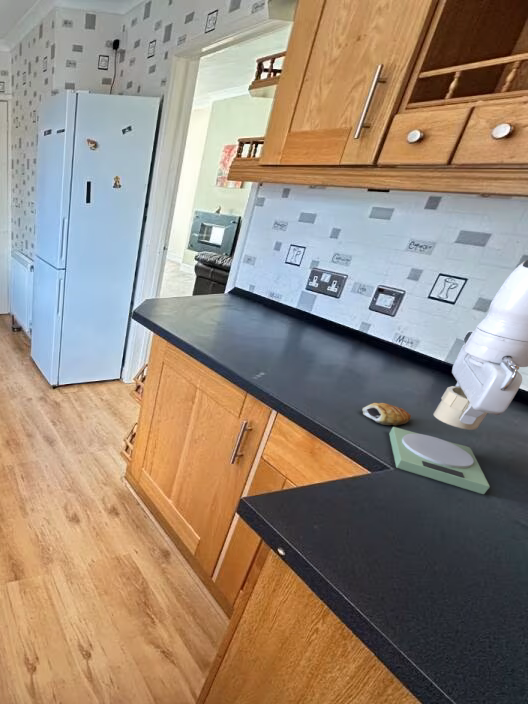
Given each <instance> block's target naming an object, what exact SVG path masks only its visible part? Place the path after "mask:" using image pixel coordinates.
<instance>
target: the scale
mask: <svg viewBox="0 0 528 704" xmlns="http://www.w3.org/2000/svg"><path fill="white" fill-rule="evenodd" d="M388 436H389V440H390V444H391V445H390V446H391V449H392V454H393V459H394V463H395V467H396V469H399V470H403V471H405V472H409V473H413V474H415V475H419V476H422V477H426V478H429V479H432V480H435V481H438V482H442V483H445V484H448V485H452V486H454V487H458V488H461V489H465V490H468V491H471V492H473V493H474V492H475V493H477V494H481V495H485V494H486V492H487V491H488V490H489V489H490V487H491V486H490V484H489V482H488V480H487V478H486V476H485V474H484V472H483V470H482V468H481V466H480V464H479V462H478V460H477V458H476V456H475V454H474V452H473V450H472V449H471V447H470V446H466V445H464V444H463V445H462V444H459V443H454V442H451V441H448V440H445V439H441V438H439V437H435V436H431V435H428V434H423V433H418V432H415V431H410V430H407V429H404V428H400V427H397V426H392V427H391V429H390V430H389V433H388Z"/></svg>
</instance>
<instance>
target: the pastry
mask: <svg viewBox="0 0 528 704" xmlns="http://www.w3.org/2000/svg"><path fill="white" fill-rule="evenodd" d="M361 412H362V415H363V416H365V417H366V418H368V419H370V420H373V421H374V422H375V423H378V424H381V425H382V426H383V425H384V426H391V425H392V426H400V425H404V424H405V425H406V424H407V423H408V422H409V421H410V420H411V419H412V418H411V417H412V415H411V414H410V413H409V412H408V411H406V410H405V409H404V408H402V407H398V406H397V405H393V404H389V403H385V402H373V403H370V404H367V405H366V406H364V407H362V411H361Z"/></svg>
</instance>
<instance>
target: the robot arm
mask: <svg viewBox="0 0 528 704" xmlns="http://www.w3.org/2000/svg"><path fill="white" fill-rule="evenodd" d="M462 340H463V342H464V343H463V345H462V347H461V348H460V350H459V352H458V354H457V356H456V358H455V360H454V363H453V365H452V369H451V374H452V375H453V377H454V378H455V380H456V384H455V386H459V387H461V389H462V390H463V392H464V394H465V395H466V397H467V399H468V400H469V402H470V403H469V405H468V406H469V407H468V408H467V409H466V410H465V411H462V413H461V415H460V416H459V419H460V421H461V422H462V423H466V424H473V423H474V421H475V420H476V418H477V417H479V416H480V415H482V414H483V413H489V414H488V415H495V416H500V415H501V414H503V413H505V411H506V410H508V407H509V406H510V405H511V403H512V401H513V399H514V398H515V396H516V395H517V393H518V391H519V389H520V387H521V385H522V383H523V376H522V374H521V373H520V372H519V371H518V370H519V369H520V368H528V259H526V260H524V261H523V262H521V263H520V264H518V266H516V267H515V269H514V270H512V272H510V274H509V275H508V277H506V279H505V280H504V282H503V283H502V285H501V286H500V288H499V289H498V290H497V292H496V294H495V295H494V297H493V298H492V301H491V302H490V304H489V309H488V312H487V314H486V316H485V317H484V318H483V319H482V320H481V321H479V323H478V324H477V325H476V327H475V329H474V330H468V331H467V332H466V333H465V334H464V336H463V339H462Z"/></svg>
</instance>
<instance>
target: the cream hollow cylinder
mask: <svg viewBox="0 0 528 704" xmlns="http://www.w3.org/2000/svg"><path fill="white" fill-rule="evenodd" d="M440 398H441V400H440V402H439V403H438V405H437V407H436V408H435V410H434V412H433V413H432V414H433V417H434V418H435V419H437V420H438V421H440V422H442V423H444V424H446V425H449V426H452V427H454V428H458V429H462V430H469V431H473V430H477V429H479V427H480V426H481V424H482V423H483V422H484V420H485V418H486V417H487V416H488V415H490V414H489V413H483V414H482V415H480V416H479V417H477V418H476V420H475V421H474V423H473V424H466V423H462V422H461V421H460V419H459V416H460V415H461V413H462V411H465V410H466V409H467V408H468V407H469V406H468V405H469V403H470V402H469V400H468V399H467V397H466V395H465V394H464V392H463V390H462V389H461V387H459V386H456V385H451V386H448V387H447V388H446V389H445V391H444V393H443V394H442V396H441V397H440Z"/></svg>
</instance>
